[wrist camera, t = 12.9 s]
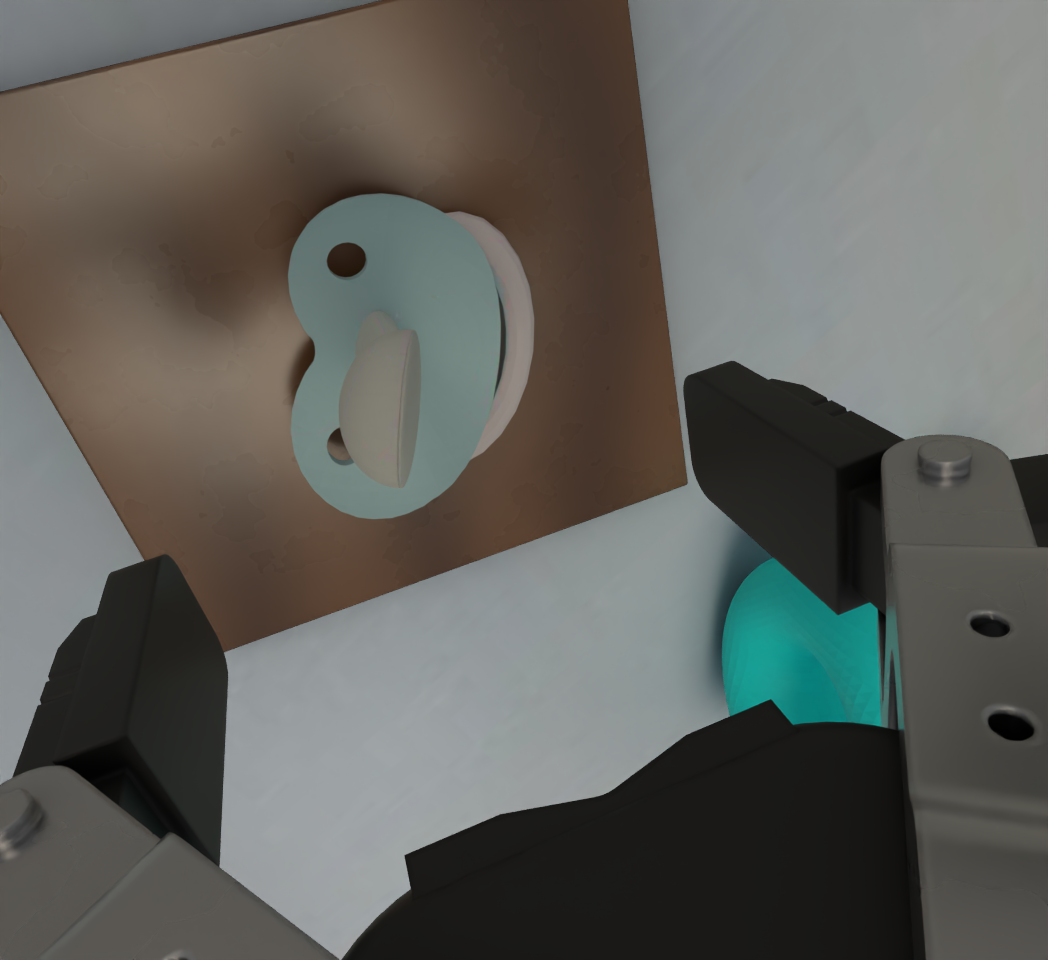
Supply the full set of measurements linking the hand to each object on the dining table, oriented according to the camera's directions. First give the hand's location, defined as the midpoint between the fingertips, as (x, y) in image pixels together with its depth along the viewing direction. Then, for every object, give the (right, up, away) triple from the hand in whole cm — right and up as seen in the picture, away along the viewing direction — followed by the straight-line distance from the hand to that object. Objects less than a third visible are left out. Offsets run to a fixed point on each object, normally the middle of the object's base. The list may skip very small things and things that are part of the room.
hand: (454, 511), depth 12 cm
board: (-3, +4, +8) cm, 10 cm away
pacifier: (-2, +4, +8) cm, 9 cm away
